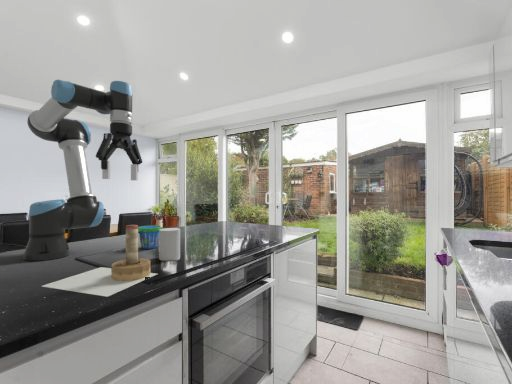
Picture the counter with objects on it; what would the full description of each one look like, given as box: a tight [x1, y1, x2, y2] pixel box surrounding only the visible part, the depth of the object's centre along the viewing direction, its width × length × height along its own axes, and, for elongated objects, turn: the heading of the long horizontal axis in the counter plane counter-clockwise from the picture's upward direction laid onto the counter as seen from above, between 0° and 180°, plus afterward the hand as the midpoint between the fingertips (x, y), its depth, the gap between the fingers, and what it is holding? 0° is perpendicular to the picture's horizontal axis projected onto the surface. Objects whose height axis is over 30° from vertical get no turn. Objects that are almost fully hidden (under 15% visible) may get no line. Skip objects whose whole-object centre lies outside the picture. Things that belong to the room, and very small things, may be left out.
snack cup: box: [138, 224, 164, 250], centre depth 130 cm, size 16×10×10 cm
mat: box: [41, 266, 158, 298], centre depth 82 cm, size 24×20×1 cm
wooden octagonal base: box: [110, 257, 152, 281], centre depth 86 cm, size 11×11×4 cm
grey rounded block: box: [158, 227, 181, 262], centre depth 109 cm, size 8×8×12 cm
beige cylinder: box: [125, 224, 139, 265], centre depth 86 cm, size 4×4×16 cm
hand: (121, 179), depth 102 cm, fingers open, 13 cm apart
